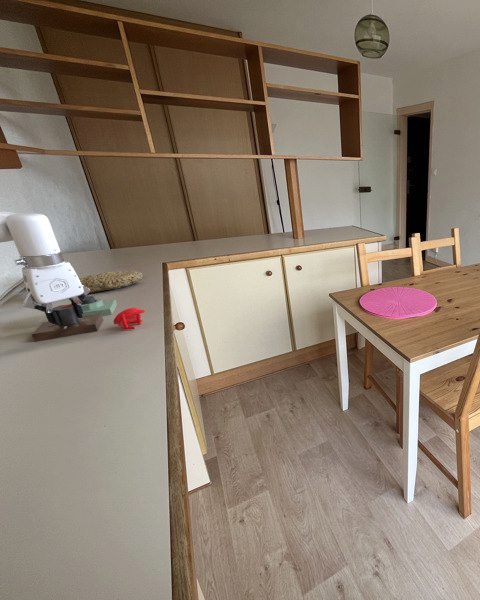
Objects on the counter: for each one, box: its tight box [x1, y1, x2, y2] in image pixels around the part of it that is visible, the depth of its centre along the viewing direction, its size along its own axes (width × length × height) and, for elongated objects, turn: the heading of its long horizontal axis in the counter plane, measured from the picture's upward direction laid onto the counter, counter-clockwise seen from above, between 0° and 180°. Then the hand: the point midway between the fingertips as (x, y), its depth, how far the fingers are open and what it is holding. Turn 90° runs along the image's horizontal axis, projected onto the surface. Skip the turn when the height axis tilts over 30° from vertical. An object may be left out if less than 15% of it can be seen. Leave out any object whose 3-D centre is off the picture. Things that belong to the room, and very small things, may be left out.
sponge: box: [79, 270, 144, 294], centre depth 127 cm, size 13×8×20 cm
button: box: [81, 295, 96, 305], centre depth 104 cm, size 4×4×2 cm
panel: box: [31, 314, 104, 343], centre depth 93 cm, size 13×9×3 cm
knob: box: [52, 303, 79, 326], centre depth 91 cm, size 4×4×5 cm
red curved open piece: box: [113, 307, 146, 331], centre depth 95 cm, size 8×6×6 cm
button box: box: [80, 297, 118, 317], centre depth 105 cm, size 12×10×4 cm
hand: (67, 319), depth 92 cm, fingers closed on knob, 4 cm apart
